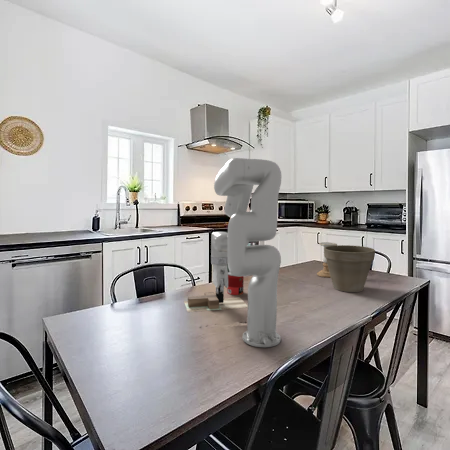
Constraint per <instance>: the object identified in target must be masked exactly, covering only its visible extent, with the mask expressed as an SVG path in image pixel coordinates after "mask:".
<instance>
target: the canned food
mask: <svg viewBox="0 0 450 450" xmlns="http://www.w3.org/2000/svg"><path fill="white" fill-rule="evenodd" d="M244 277H245V276H240V277H238V276H234V275H232V274H231V273H230V271H228V288H226V290H227V294H228V295H230V296H231V295H232V296H241V295H243V294H244V279H245V278H244Z"/></svg>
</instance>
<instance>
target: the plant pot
mask: <svg viewBox="0 0 450 450" xmlns="http://www.w3.org/2000/svg"><path fill="white" fill-rule="evenodd" d="M375 255H376V249H374V248H372V247H369V246H361V245H350V244H348V245H347V244H346V245H343V244H342V245H341V244H339V245H338V244H337V245H335V246H327V247H324V246H323V258H324V257H325V258H326V260H327V265H328V269H329V272H330V276H331V278H330V280H331V283H332V286H333V289H334V290H337V291H340V292H343V291H344V292H345V293H360V292H362V291H363V290H364V289H365V285H366V282H367V279H368V275H369V273H370V269H371V266H372V262H373V261H374V260H375Z"/></svg>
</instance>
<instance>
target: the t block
mask: <svg viewBox="0 0 450 450" xmlns="http://www.w3.org/2000/svg"><path fill="white" fill-rule="evenodd" d="M187 301H188V306H189V307H202V306H208V308H209V309H219V300H218V298H217V297H216V293H214V292H213V291H211V292H204V294H203V295H189V296H187Z"/></svg>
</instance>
